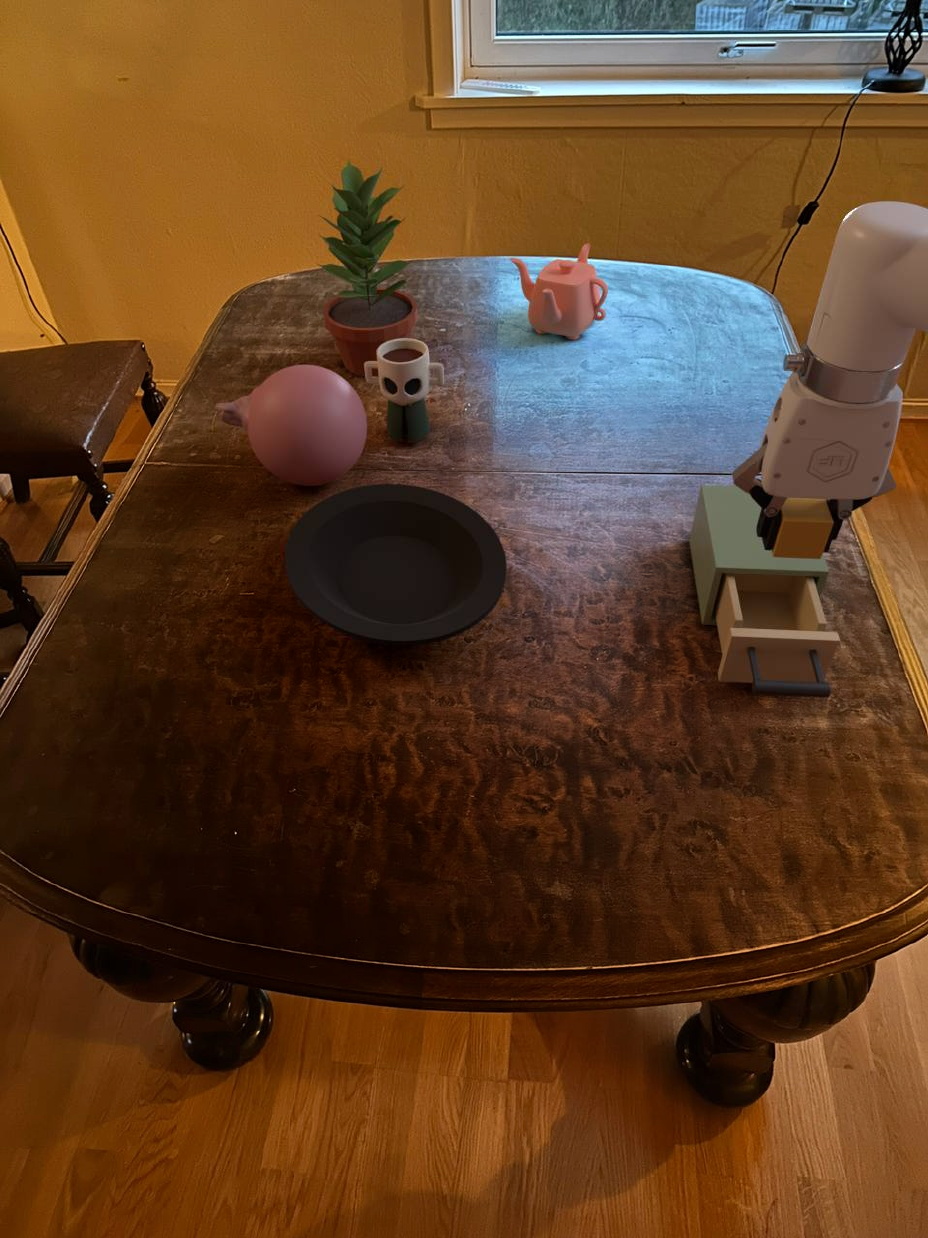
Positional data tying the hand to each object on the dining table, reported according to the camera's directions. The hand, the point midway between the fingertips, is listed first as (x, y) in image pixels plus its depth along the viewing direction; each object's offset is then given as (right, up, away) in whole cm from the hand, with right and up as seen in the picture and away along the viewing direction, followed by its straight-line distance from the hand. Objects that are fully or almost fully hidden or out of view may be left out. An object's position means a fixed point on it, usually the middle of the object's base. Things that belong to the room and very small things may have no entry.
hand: (793, 540), depth 84 cm
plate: (-39, -4, +19) cm, 44 cm away
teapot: (-16, +42, +65) cm, 79 cm away
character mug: (-39, +19, +43) cm, 61 cm away
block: (0, 0, 0) cm, 0 cm away
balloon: (-54, +12, +37) cm, 66 cm away
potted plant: (-46, +34, +58) cm, 81 cm away
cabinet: (+1, -3, +19) cm, 19 cm away
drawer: (0, -11, +9) cm, 15 cm away
